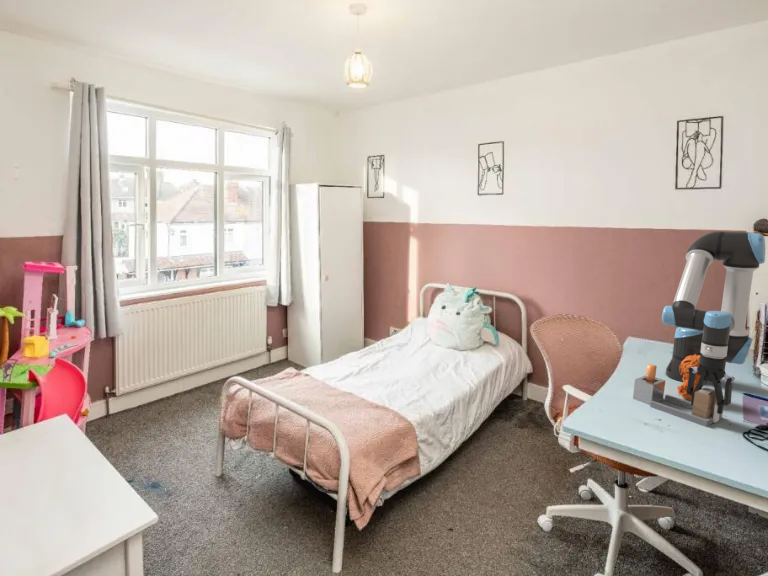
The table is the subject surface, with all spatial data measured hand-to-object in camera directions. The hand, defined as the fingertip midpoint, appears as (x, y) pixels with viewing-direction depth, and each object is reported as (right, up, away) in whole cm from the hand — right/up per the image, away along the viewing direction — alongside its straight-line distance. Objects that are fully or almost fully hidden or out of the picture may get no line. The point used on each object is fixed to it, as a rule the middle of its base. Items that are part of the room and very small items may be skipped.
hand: (705, 417), depth 166 cm
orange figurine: (+7, +3, +18) cm, 20 cm away
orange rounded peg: (-11, +10, +15) cm, 21 cm away
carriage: (0, 0, +1) cm, 1 cm away
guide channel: (-4, +1, +6) cm, 7 cm away
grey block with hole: (-11, +3, +17) cm, 20 cm away
